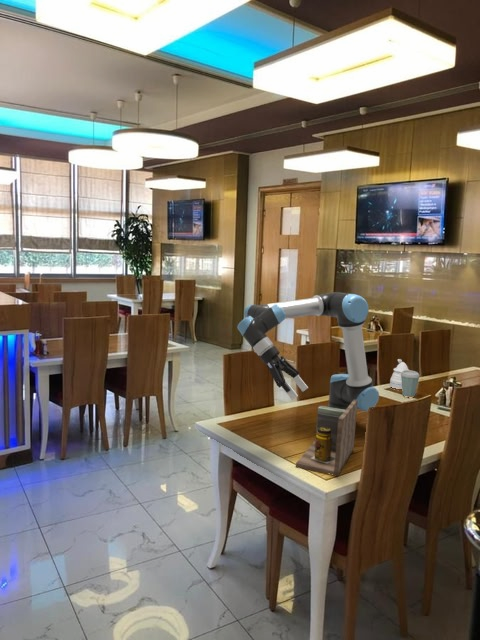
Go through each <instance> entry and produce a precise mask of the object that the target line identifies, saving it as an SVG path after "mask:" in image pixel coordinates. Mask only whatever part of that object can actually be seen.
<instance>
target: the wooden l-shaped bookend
mask: <svg viewBox="0 0 480 640" xmlns="http://www.w3.org/2000/svg"><path fill="white" fill-rule="evenodd" d="M357 402H358V400H353V401H352V403H351V404H350V405H349V406H348V408H347V409H346V410H343V409H337V408H332V407H328V406H326V405H319V406H318V407H317V418H316V429H315V431H316V432H315V436H316V435H317V431H318V428H319V427H326V428H329V429H331V436H332V443H331V456H335V459H334V460H332V461H331V462H329V463H327V464H326V463H323V462H319V461H316V460H314V459H311V458H312V457H314V456H315V445H316V439H315V440H314V441H313V442H312V443H311V445H310V446H309V447H308V448H307V449H306V450H305V452H304V453H303V454H302V456H301V457H300V458H299V459H298V460H297V462H296V463H295V468H298V467H299V469H303V468H304V470H307V469H309V470H308V471H312V470H313V471H312V472H316V471H318V473H320V472H324V473H323V474H325V473H330V474H333V475H340V474H339V473H341V472H342V471H343V469H342V468H344V467H345V465H346V464H345V463H347V462H348V460H349V459H348V458H350V457H351V455H352V454H353V452H354V444H355V436H356V434H355V433H356V426H357V425H356V423H357V411H358V409H357ZM340 471H341V472H340ZM333 475H332V476H333Z"/></svg>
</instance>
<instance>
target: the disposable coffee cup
mask: <svg viewBox="0 0 480 640" xmlns="http://www.w3.org/2000/svg"><path fill="white" fill-rule="evenodd" d="M401 379H402V391H401V393H402V396H403V395H405V396H415V397H416V392H417V387H418V384H419V380H420V374H419V372H418V371H415V370H410V369H408V370H404V371H402V373H401Z"/></svg>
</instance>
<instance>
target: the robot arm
mask: <svg viewBox="0 0 480 640" xmlns="http://www.w3.org/2000/svg"><path fill="white" fill-rule="evenodd" d="M369 312H370V311H369V304H368V302H367V300H366V299H365V298H364V297H363V296H361V295H359V294H355V293H348V292H347V293H346V292H340V291H336V292H335V291H334V292H333V291H332V292H327V293H322V294H316V295H313V296H312V297H309V298H303V299H295V300H288V301H287V300H285V301H279V302H273V303H266V304H248V305H247V306H246V307H245V309H244V310H243V316H244V318H243V319H242V320H241V321H240V322H239V323H238V324H237V326H236V327H237V330H238V331H239V332H240V334H241V336H242V337H243V338H244V340H246V343H248V345H250V347H251V348H252V349H253V350H254V351H253V352H254V353H255V354H256V355H257V356H258V357H260V360H261V361H262V362H263V364H265V365H266V367H267V369H268V371H269V373H270V374H271V377H272V379H273V380H274V383H275V384H276V386H277V387H278V388H282V389H283V390H284V392H285V394H286V395H288V397H289V399H291V401H293V400H295V399H296V398H298V396H299V395H298V394H297V392H296V391H295V390H294V389H293V387H292V386H291V385H290V384H289V383H288V381H286V379H285V376H284V374H283V372H284V373H286V374H287V375H288V376H289V377H291V378H292V380H293V382H294V383H295V384H296V385H297V386H298V389H300V390H301V392H303V393H304V391H306V390H307V389H309V386H308V385H307V384H306V383H305V382H304V380H303V379H302V377H300V372H299V370H298V369H296V367H295V366H293V365H292V364H291V363H290V362H288V360H286V358H285V357H284V356H283V355H282V356H280V357H279V354H280V350H279V349H278V348H277V347H276V346H275V345H274V343H273V342H272V340H271V339H270V338H269V337H268V335H267V333H268V332H269V331H271V330H272V329H274V328H275V327H277V326H279V325H280V324H282V322H283V321H284V320H285V319H291V318H292V319H293V318H299V317H307V316H313V315H314V316H317V317H321V316H323V317H325V316H327V317H331V318H336V320H337V325H338V328H340V329H342V330H341V331H342V338H343V345H344V353H345V362H346V367H347V373H339V374H338V373H337V374H333V375H331V377H330V381H329V394H328V395H329V396H328V405H327V407H332V408H337V409H343V410H346V409H347V408H348V406H349V405H350V404H351V403H352V401H353V400H358V402H357V410H360V411H363V412H368V409H369V407H374V408H375V407H376V404H378V402H379V400H380V393H379V390H378V389H377V388H376V387H374V385H373V379H372V378H371V376H369V374H368V365H367V358H366V356H367V355H366V350H365V343H364V334H363V326H364V325H365V323H366V319H367V317H368V315H369Z"/></svg>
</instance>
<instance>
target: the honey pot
mask: <svg viewBox="0 0 480 640" xmlns="http://www.w3.org/2000/svg"><path fill="white" fill-rule="evenodd" d="M402 360H403V359H401V358H398V359H397V362H398V364H397V365H396V367H394V368H393V373H392V375H391V377H390V380H389V388H390V387H392V388H396V389H402V379H401V373H402V371H404V370H409V366H408V365H407V363H405V362H404V361H402ZM392 388H391V389H392Z"/></svg>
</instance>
